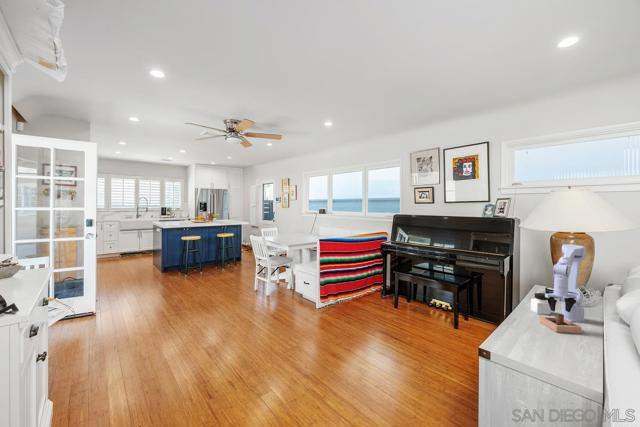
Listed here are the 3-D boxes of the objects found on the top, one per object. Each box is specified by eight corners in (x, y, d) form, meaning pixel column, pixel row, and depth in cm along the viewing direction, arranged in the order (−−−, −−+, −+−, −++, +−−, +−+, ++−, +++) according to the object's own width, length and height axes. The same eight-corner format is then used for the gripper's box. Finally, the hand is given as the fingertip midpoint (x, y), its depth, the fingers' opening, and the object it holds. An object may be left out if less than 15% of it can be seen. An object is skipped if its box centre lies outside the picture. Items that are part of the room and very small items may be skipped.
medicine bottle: (550, 315, 162) (551, 295, 162) (537, 314, 164) (537, 294, 164) (543, 310, 169) (543, 292, 169) (530, 309, 171) (531, 291, 171)
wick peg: (560, 325, 147) (560, 313, 147) (565, 328, 144) (565, 315, 143) (554, 325, 147) (554, 313, 147) (558, 328, 144) (559, 315, 144)
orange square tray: (562, 323, 151) (562, 317, 151) (581, 333, 139) (581, 327, 139) (539, 322, 152) (540, 316, 152) (556, 332, 140) (556, 326, 140)
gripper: (552, 288, 141) (551, 313, 142) (582, 289, 140) (581, 314, 140) (542, 284, 148) (541, 308, 149) (570, 285, 147) (569, 309, 147)
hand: (560, 311), depth 145 cm, fingers open, 7 cm apart
